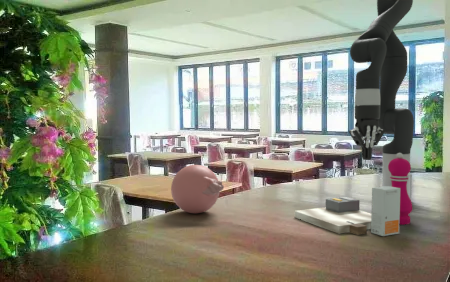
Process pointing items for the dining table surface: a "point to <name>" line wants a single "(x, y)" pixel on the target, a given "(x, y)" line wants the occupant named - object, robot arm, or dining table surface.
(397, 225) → the skincare box
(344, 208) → the block
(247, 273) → the dining table surface
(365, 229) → the board
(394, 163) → the pepper mill
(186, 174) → the balloon
